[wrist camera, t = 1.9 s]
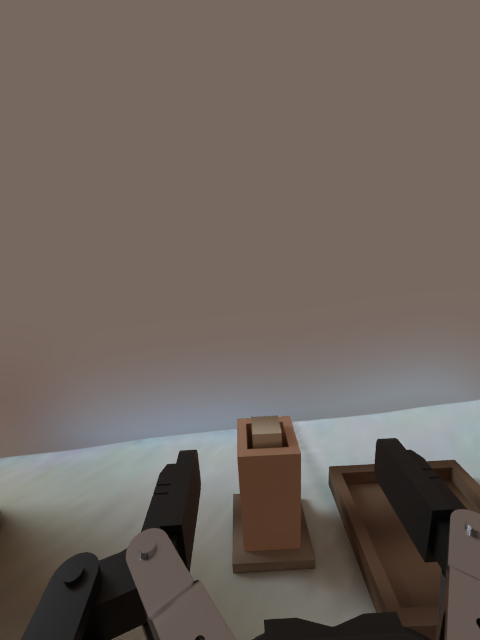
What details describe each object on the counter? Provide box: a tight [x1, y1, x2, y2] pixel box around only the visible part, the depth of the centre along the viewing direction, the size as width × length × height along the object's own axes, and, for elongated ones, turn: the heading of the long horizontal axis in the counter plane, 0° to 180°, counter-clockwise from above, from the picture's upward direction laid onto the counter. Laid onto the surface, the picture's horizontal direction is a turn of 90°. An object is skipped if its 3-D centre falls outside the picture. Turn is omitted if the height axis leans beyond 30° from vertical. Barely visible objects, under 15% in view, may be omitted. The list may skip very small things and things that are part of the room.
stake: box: [233, 416, 315, 573], centre depth 27 cm, size 7×7×12 cm
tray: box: [329, 460, 480, 640], centre depth 26 cm, size 14×14×2 cm
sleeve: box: [237, 416, 301, 551], centre depth 27 cm, size 5×5×10 cm
